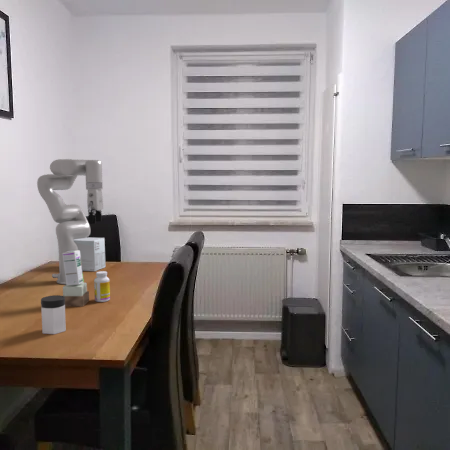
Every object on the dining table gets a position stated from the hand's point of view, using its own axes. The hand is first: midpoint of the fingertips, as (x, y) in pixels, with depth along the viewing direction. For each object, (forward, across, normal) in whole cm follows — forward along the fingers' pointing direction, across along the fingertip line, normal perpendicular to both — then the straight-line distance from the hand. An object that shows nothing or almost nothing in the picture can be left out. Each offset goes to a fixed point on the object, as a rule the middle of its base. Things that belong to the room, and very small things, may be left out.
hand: (95, 222), depth 218 cm
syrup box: (+25, -22, +3) cm, 33 cm away
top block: (+29, -21, +3) cm, 36 cm away
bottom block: (+34, -21, +3) cm, 40 cm away
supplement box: (+34, +51, +21) cm, 65 cm away
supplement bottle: (+34, -16, -7) cm, 38 cm away
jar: (+34, -56, -1) cm, 65 cm away
